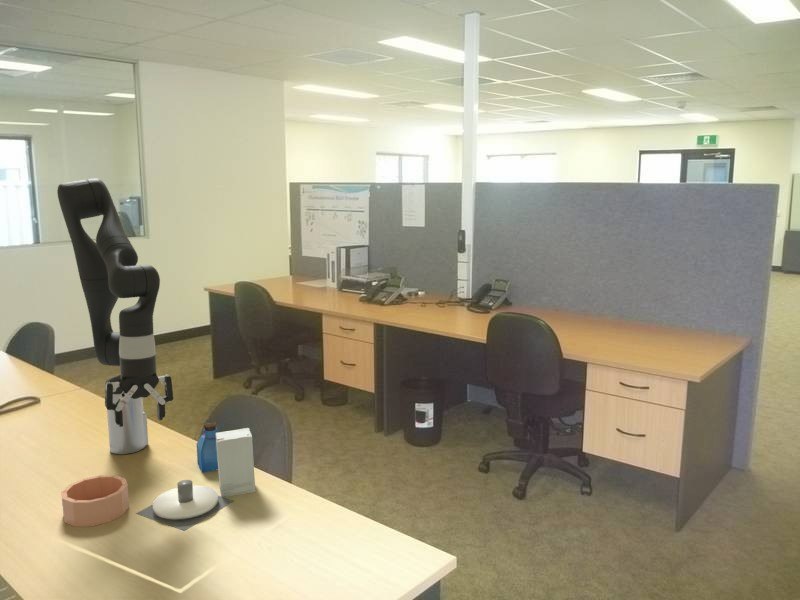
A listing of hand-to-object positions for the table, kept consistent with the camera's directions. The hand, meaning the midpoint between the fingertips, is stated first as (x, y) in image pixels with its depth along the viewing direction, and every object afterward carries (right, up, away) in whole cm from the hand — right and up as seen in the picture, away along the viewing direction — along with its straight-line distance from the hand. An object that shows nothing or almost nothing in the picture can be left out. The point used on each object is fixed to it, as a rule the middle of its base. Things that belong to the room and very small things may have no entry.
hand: (140, 422), depth 144 cm
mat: (+11, -19, -2) cm, 22 cm away
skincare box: (+20, -18, +7) cm, 28 cm away
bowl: (-8, -20, -4) cm, 22 cm away
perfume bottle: (+10, -16, +20) cm, 28 cm away
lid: (+11, -19, -2) cm, 22 cm away
